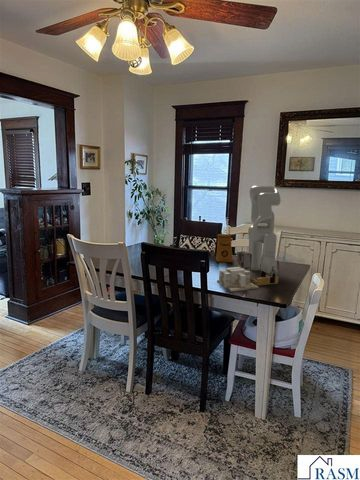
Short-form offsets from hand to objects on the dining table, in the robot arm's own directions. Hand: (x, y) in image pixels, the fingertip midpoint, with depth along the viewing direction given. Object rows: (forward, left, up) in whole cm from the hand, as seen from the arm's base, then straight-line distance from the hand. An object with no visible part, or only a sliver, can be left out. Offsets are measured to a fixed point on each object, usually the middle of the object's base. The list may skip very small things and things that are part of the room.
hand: (267, 280), depth 204 cm
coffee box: (-19, -6, -2) cm, 20 cm away
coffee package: (-59, 0, -2) cm, 59 cm away
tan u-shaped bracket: (-6, 0, -2) cm, 6 cm away
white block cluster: (-4, -19, -2) cm, 19 cm away
